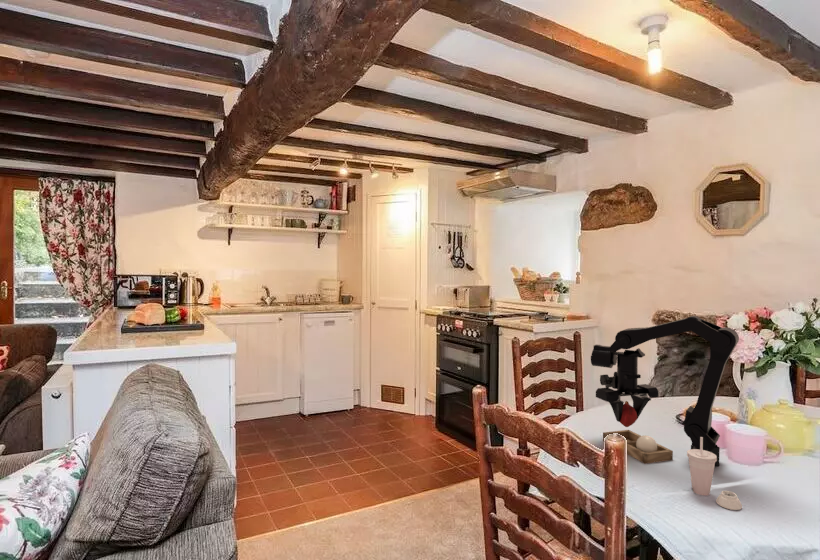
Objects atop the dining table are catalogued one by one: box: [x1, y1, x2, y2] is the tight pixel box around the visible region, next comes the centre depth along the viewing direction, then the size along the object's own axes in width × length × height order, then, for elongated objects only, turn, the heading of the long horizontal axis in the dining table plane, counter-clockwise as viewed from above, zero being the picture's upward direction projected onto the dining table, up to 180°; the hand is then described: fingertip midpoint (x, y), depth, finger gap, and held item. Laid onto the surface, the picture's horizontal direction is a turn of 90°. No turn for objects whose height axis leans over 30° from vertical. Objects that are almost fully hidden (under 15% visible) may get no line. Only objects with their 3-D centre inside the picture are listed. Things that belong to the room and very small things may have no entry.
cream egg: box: [636, 435, 658, 453], centre depth 140 cm, size 6×6×6 cm
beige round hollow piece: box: [715, 490, 743, 511], centre depth 113 cm, size 5×3×5 cm
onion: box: [619, 400, 638, 428], centre depth 148 cm, size 6×6×8 cm
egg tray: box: [602, 429, 674, 464], centre depth 145 cm, size 18×10×4 cm, turn 15°
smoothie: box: [686, 437, 717, 497], centre depth 120 cm, size 6×6×14 cm
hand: (626, 420), depth 148 cm, fingers closed on onion, 6 cm apart
